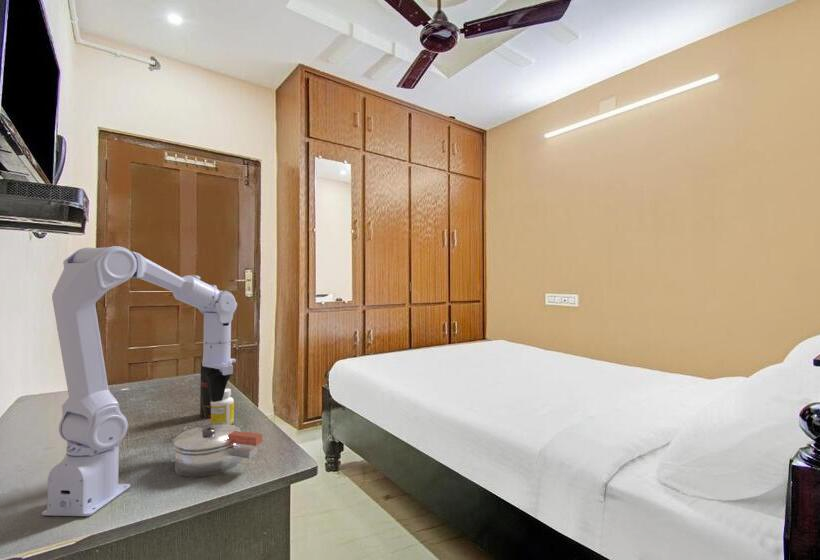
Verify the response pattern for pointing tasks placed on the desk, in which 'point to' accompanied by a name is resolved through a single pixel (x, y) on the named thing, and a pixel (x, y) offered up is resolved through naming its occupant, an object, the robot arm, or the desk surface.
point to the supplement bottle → (223, 410)
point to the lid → (214, 437)
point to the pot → (210, 459)
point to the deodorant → (204, 397)
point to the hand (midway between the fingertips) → (216, 400)
